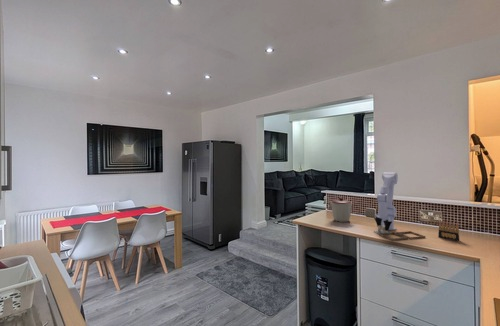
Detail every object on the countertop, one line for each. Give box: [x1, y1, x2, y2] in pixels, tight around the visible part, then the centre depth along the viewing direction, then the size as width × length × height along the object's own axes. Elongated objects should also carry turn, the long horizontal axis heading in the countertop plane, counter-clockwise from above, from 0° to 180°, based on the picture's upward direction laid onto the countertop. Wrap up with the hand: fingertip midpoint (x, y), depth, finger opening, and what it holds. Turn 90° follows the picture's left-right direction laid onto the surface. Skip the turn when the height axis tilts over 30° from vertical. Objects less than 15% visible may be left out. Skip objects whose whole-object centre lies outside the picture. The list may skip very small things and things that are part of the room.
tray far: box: [395, 230, 426, 240], centre depth 166 cm, size 12×12×1 cm
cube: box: [377, 225, 389, 233], centre depth 173 cm, size 4×4×4 cm
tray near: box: [378, 232, 409, 242], centre depth 163 cm, size 12×12×1 cm
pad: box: [373, 230, 392, 235], centre depth 173 cm, size 7×10×1 cm
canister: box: [330, 196, 353, 223], centre depth 211 cm, size 18×18×21 cm
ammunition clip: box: [438, 219, 460, 242], centre depth 158 cm, size 11×2×12 cm, turn 40°
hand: (383, 229), depth 173 cm, fingers open, 7 cm apart
